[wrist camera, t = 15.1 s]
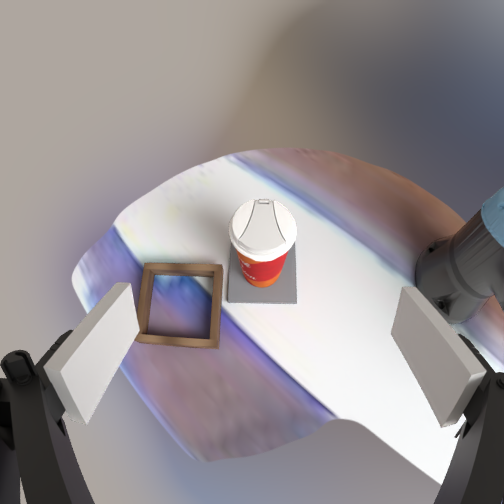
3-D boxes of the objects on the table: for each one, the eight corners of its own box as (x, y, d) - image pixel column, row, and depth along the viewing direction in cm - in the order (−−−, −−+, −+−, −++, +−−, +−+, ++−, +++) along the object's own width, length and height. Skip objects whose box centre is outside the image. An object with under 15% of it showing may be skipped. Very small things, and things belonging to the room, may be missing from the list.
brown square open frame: (223, 270, 47) (221, 264, 44) (218, 349, 42) (216, 347, 39) (149, 268, 47) (144, 262, 45) (140, 342, 42) (134, 340, 40)
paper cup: (238, 246, 48) (231, 193, 35) (287, 248, 47) (297, 196, 35) (234, 294, 44) (224, 254, 32) (286, 296, 44) (298, 258, 31)
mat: (294, 242, 48) (294, 241, 48) (296, 303, 44) (296, 302, 44) (231, 241, 49) (231, 240, 48) (228, 302, 45) (227, 301, 44)
